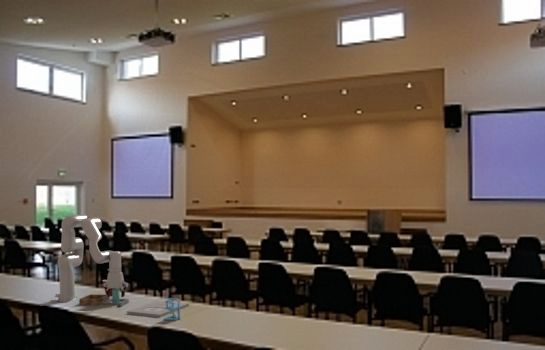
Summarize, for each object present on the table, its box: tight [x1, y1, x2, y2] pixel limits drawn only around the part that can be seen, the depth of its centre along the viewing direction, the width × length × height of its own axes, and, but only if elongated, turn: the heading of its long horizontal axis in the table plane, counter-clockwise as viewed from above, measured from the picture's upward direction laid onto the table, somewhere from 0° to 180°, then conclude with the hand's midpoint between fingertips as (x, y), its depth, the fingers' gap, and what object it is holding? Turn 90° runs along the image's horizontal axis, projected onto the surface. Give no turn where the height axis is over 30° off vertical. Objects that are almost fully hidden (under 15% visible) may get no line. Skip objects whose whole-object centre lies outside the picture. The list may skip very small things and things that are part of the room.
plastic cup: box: [102, 279, 117, 297], centre depth 370 cm, size 11×11×12 cm
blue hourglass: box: [163, 297, 181, 321], centre depth 304 cm, size 8×8×12 cm
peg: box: [111, 288, 121, 303], centre depth 345 cm, size 4×4×9 cm
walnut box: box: [79, 293, 111, 306], centre depth 347 cm, size 14×14×5 cm
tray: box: [102, 298, 130, 308], centre depth 345 cm, size 12×12×2 cm
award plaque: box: [126, 300, 190, 318], centre depth 328 cm, size 25×30×2 cm
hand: (116, 296), depth 345 cm, fingers open, 9 cm apart
